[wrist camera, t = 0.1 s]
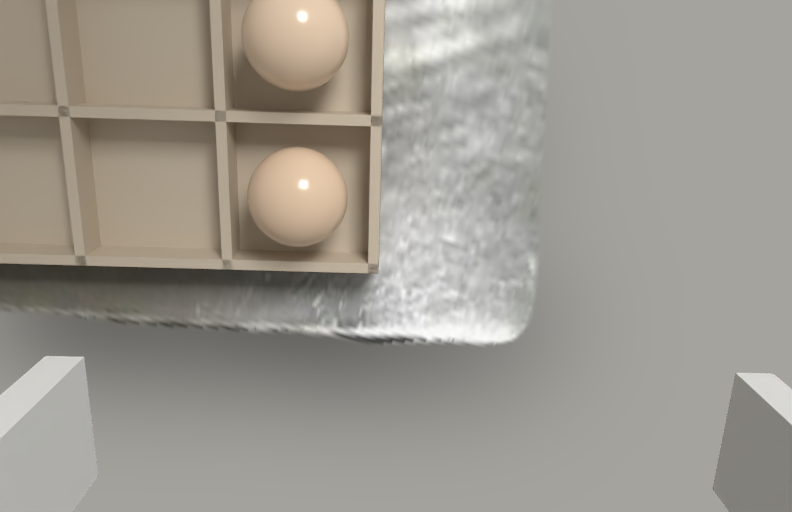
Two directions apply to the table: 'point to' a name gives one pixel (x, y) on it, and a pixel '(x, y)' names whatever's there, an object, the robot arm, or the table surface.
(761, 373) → the robot arm
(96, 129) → the carton
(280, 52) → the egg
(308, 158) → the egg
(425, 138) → the table surface
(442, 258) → the table surface
